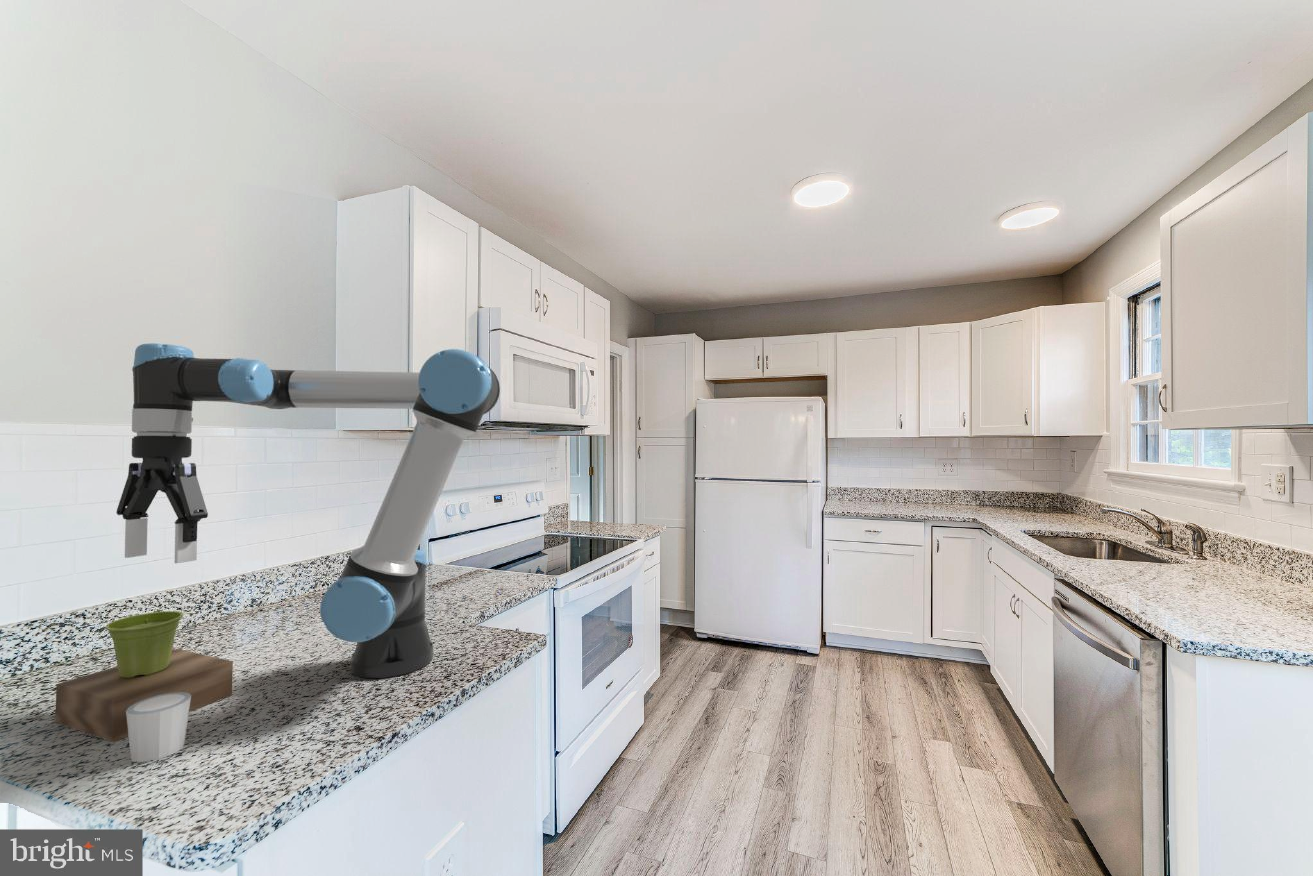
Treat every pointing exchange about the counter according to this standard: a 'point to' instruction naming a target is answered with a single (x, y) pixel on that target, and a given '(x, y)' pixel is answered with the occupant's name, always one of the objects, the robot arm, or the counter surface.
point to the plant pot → (144, 642)
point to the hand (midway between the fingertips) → (160, 559)
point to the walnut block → (139, 692)
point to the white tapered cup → (158, 726)
